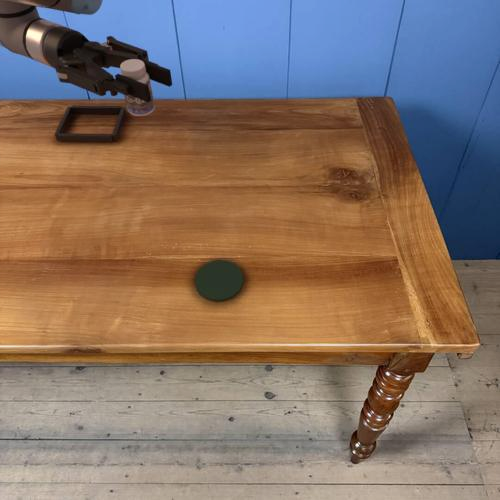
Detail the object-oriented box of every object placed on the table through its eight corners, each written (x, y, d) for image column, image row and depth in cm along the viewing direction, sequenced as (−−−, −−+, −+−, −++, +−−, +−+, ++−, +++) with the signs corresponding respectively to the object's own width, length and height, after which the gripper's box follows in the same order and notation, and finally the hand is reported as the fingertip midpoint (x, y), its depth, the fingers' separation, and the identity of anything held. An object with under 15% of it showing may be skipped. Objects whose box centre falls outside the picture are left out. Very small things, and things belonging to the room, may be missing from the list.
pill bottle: (127, 118, 80) (116, 73, 73) (129, 102, 83) (118, 58, 76) (154, 116, 80) (145, 71, 74) (155, 100, 83) (147, 56, 77)
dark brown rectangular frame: (56, 141, 94) (53, 135, 93) (70, 111, 101) (68, 105, 100) (117, 142, 94) (115, 136, 93) (127, 112, 101) (125, 105, 99)
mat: (185, 283, 72) (184, 281, 71) (217, 254, 75) (217, 252, 75) (221, 310, 69) (220, 308, 68) (253, 278, 72) (253, 276, 72)
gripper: (100, 47, 90) (194, 81, 82) (28, 89, 81) (126, 133, 73) (89, 7, 85) (190, 40, 76) (11, 48, 75) (115, 91, 67)
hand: (159, 86), depth 75 cm, fingers closed on pill bottle, 5 cm apart
